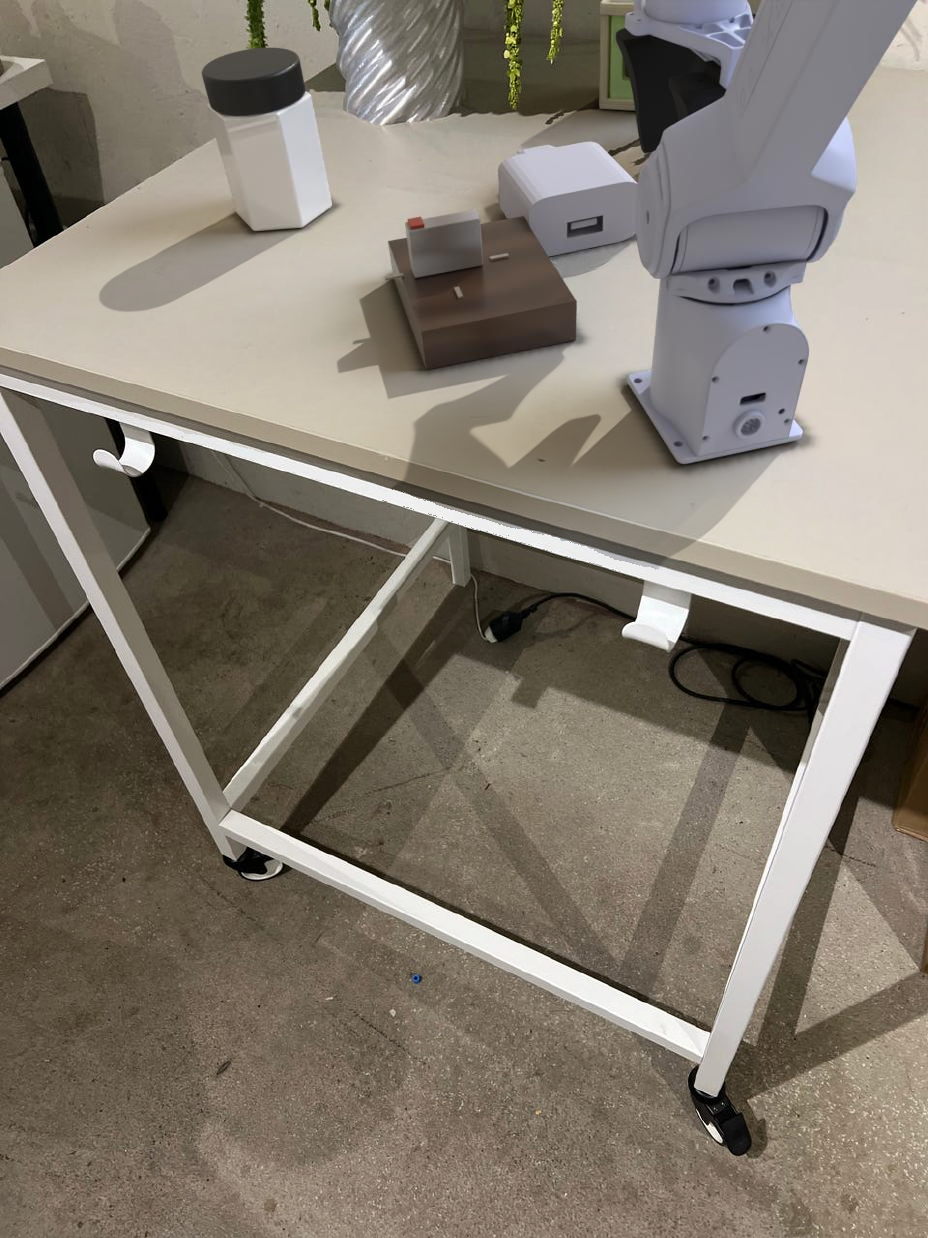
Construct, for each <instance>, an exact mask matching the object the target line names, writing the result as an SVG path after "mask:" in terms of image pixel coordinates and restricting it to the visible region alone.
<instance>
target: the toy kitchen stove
mask: <svg viewBox="0 0 928 1238" xmlns="http://www.w3.org/2000/svg"><path fill="white" fill-rule="evenodd" d="M599 3H600V4H599V5H600V6H599V15H600V23H599V25H600V26H599V27H600V29H599V31H600V32H599V37H600V38H599V88H598V89H599V90H598V91H599V93H598V94H599V95H598V96H599V98H598V106H599V109H601V110H613V111H616V110H617V111H633V112H634V111H635V105H634V99H633V93H632V88H631V83H630V79H629V75H628V71H627V68H626V65H625V62H624V59H623V56H622V54H621V51H620V49H619V47H618V44H617V42H616V32H617V31H618V30H620V29H623V28H625V15H626V14H627V13H630V12H633V11H634V0H601V1H600V2H599Z"/></svg>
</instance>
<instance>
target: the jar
mask: <svg viewBox="0 0 928 1238" xmlns="http://www.w3.org/2000/svg"><path fill="white" fill-rule="evenodd" d="M201 79H202V81H203V85H204V88H205V91H206V96H207V99H208V103H206V108H207V111H208V114H209V118H210V121H211V125H212V129H213V132H214V136H215V140H216V143H217V147H218V151H219V155H220V158H221V161H222V165H223V169H224V172H225V176H226V180H227V184H228V186H229V187H228V188H229V190H230V194H231V199H232V201H233V204H234V209H235V212H236V214H237V215H238V216H239V217H240V218H241V219H242V220H243V221H244V223H246V224H247V226H249V227H250V229H251V230H252V231H254V232H260V231H261V232H263V231H274V230H275V231H276V230H287V229H301V228H304V227H305V226H307V225H308V224H310V223H311V222H313V220H315V219H316V218H318V217H319V216H321V215H322V214H324V213H325V212H326V211H328V210H329V209H331V208H332V206H333V202H332V196H331V190H330V186H329V180H328V176H327V169H326V166H325V160H324V155H323V150H322V144H321V139H320V135H319V134H320V133H319V129H318V123H317V118H316V113H315V108H314V104H313V98H312V94H310V93H309V92H308V91H306V90H307V89H306V85H305V80H304V74H303V69H302V64H301V59H300V56H299V55H298V54H297V53H296V52H295V51H293V50H290V49H287V48H281V47H257V48H255V47H254V48H248V49H242V50H238V51H234V52H230V53H227V54H224V55H222V56H219V57H215V59H212V60H211V61H209V62H208V63H206V64H205V65H204V67H202V69H201Z"/></svg>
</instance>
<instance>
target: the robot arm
mask: <svg viewBox="0 0 928 1238" xmlns="http://www.w3.org/2000/svg"><path fill="white" fill-rule="evenodd" d="M917 2H918V0H760V3H759V5H758V8H757V10H756V13H755V14H756V16H755V18H754V20H753V16H752V9H751V5H750V3H749V2H748V0H634V11H633V12H630V13H627V14H626V15H625V28H623V29H620V30H618V31H617V32H616V42H617V44H618V47H619V49H620V51H621V54H622V56H623V59H624V62H625V65H626V68H627V71H628V75H629V79H630V83H631V88H632V93H633V99H634V105H635V120H636V128H637V134H638V135H637V136H638V141H639V146H640V151H642V153H643V154H649V153H650V155H649V156H648V158H647V159H646V161H645V162H644V163H643V165H642V166H641V168H640V171H639V173H638V174H639V175H638V179H637V183H638V184H637V194H636V233H635V234H636V243H637V251H638V256H639V260H640V263H641V265H642V267H643V268H644V269H645V270H646V271H647V272H648V273H649V275H650V276H651V277H652V278H653V279H656V280H659V285H658V286H659V287H658V295H657V296H658V297H657V307H656V320H655V329H654V338H653V349H652V350H653V351H652V360H651V369H647V370H641V371H637V372H633V373H630V374H628V375H627V380H626V382H627V384H628V386H629V387H630V389H631V391H632V393H633V394H634V395H635V397H636V399H637V400H638V402H639V404H640V405H641V406H642V408H643V409H644V411H645V413H646V414H647V417H649V420H650V421H651V422H652V424H653V426H654V427H655V429H656V431H657V432H658V434H659V435H660V437H661V438H662V440H663V441H664V443H665V445H666V446H667V448H668V450H669V451H670V453H671V454H672V456H673V458H674V459H675V461H676V462H677V463H679V464H681V465H682V464H683V465H688V464H692V463H697V462H701V461H706V460H711V459H715V458H720V457H724V456H725V457H726V456H729V455H734V454H739V453H743V452H748V451H749V452H750V451H752V450H758V449H762V448H767V447H771V446H776V445H780V444H785V443H791V442H795V441H799V440H801V439H802V437H803V434H804V431H803V428H802V427H801V426H800V425H799V424H798V423H797V421H796V420H795V419H794V418H795V414H796V410H797V406H798V402H799V399H800V394H801V390H802V387H803V382H804V379H805V374H806V371H807V366H808V362H809V357H810V346H809V340H808V337H807V336H806V334H805V332H804V330H803V328H802V327H801V325H800V323H799V322H798V320H797V318H796V314H795V313H794V310H793V304H792V297H791V289H792V288H791V287H792V285H796V284H801V283H803V281H804V278H805V274H806V273H805V272H806V268H807V264H811V263H815V262H818V261H820V260H821V259H822V258H823V257H824V256H825V255H826V253H827V252H828V251H829V249H830V247H831V246H832V245H833V243H834V242H835V240H836V238H837V236H838V234H839V232H840V228H841V226H842V222H843V219H844V214H845V210H846V208H847V206H848V204H849V202H850V200H851V199H852V197H853V196H854V194H855V193H856V190H857V183H858V175H857V174H858V168H857V156H856V155H857V154H856V149H855V141H854V137H853V132H852V128H851V124H850V121H849V119H848V116H847V115H848V114H849V112H850V111H851V109H852V108H853V106H854V104H855V102H856V101H857V99H858V98H859V96H860V95H861V93H862V91H863V90H864V88H865V86H866V85H867V83H868V82H869V80H870V78H871V76H873V73H874V72H875V71H876V68H877V67H878V65H879V64H880V63H881V60H882V59H883V57H884V55H885V54H886V52H887V51H888V50H889V48H890V46H891V44H892V43H893V41H894V39H895V38H896V36H897V35H898V33H899V31H900V30H901V28H902V27H903V25H904V23H905V21H906V20H907V18H908V17H909V15H910V14H911V12H912V10H913V8H914V7H915V6H916V4H917ZM697 55H698V56H700V57H701V58H702V59H703V60H704V61H705V63H704V71H703V73H702V72H696V73H691V72H692V69H693V66H694V63H695V60H696V58H697Z"/></svg>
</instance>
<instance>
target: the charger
mask: <svg viewBox="0 0 928 1238" xmlns="http://www.w3.org/2000/svg"><path fill="white" fill-rule="evenodd" d="M497 179H498V180H497V182H498V200H499V201H498V202H499V208H500V210H501V211H502V213H503V214H504V216H505V217H506V219H510V218H515V217H521V216H523V217H524V218H525V220H526V221H527V223H528V225H529V226H530V228H531V229H532V231H533V233H534V234H535V236H536V237H537V239H538V240H539V242H540V244H541V245H542V247H543V248H544V250H545V252H546V253H547V255H548V256H549V257H554V256H558V255H563V254H567V253H572V252H578V251H582V250H587V249H591V248H597V247H601V246H606V245H611V244H616V243H620V242H623V241H626V240H628V239H631V237H633V236H635V234H636V194H637V184H638V181H636V180H635V179H634V178H633V177H632V176H631V175H630V174H629V173H628V172H627V171H626V170H625V169H624V168H623V167H622V166H621V165H620V164H619V163H618V162H617V161H616V160H615V159H614V158H613V157H612V156H611V155H610V154H609V153H608V151H606V150H605V149H604V148H603V147H602V146H601V144H599V143H598V142H596V141H595V142H594V141H582V142H577V143H571V144H567V145H562V146H553V145H551V144H544V145H539V146H534V147H529V148H524V149H519V150H517V152H516V154H515V155H511V156H509V157H508V158H506V159H504V160H503V161H502V162H500V164H499V165H498V167H497Z"/></svg>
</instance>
